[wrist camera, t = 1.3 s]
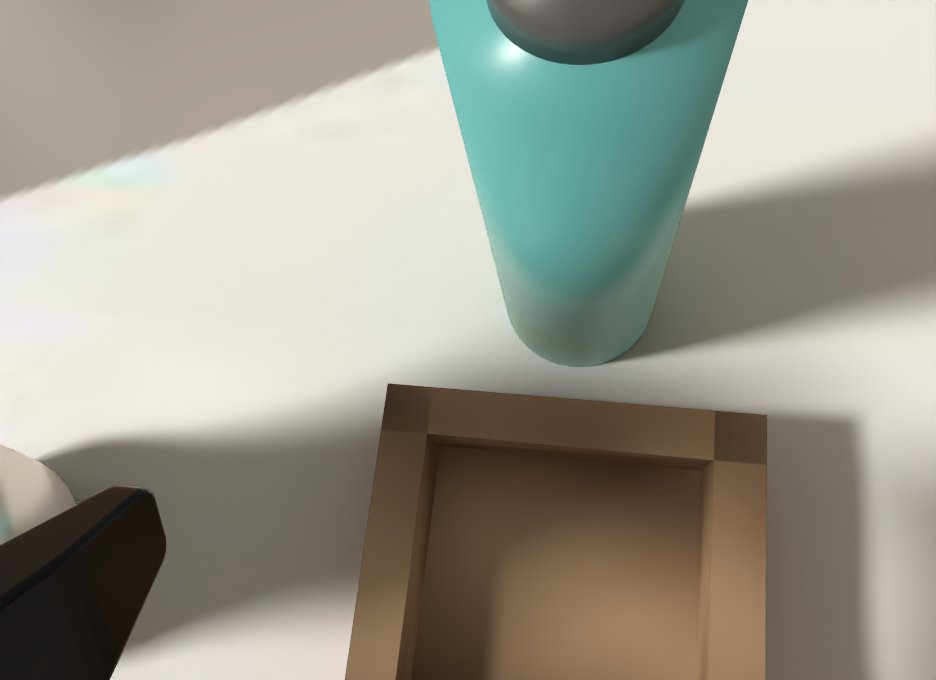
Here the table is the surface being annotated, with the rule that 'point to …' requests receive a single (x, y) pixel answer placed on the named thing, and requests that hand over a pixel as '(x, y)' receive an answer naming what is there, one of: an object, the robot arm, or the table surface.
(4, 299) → the table surface
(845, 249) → the table surface
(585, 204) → the teal rounded cylinder
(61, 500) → the plastic bottle
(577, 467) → the tray
